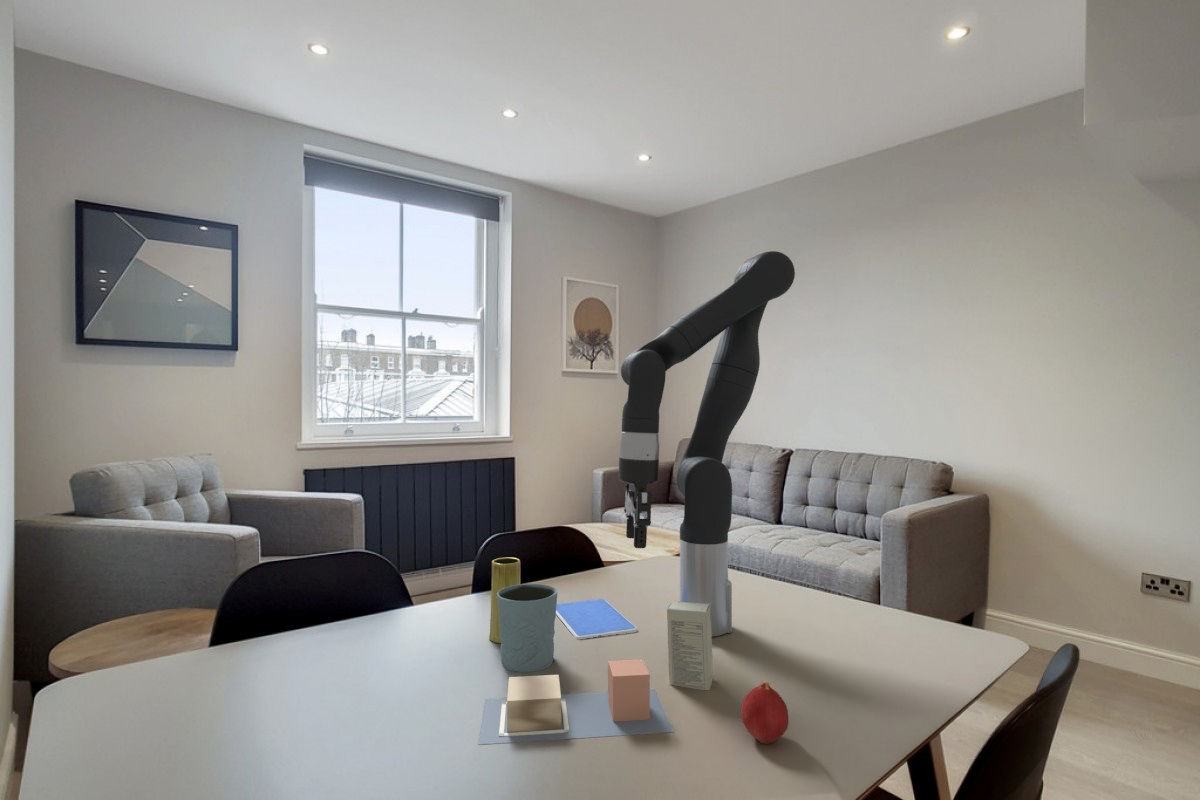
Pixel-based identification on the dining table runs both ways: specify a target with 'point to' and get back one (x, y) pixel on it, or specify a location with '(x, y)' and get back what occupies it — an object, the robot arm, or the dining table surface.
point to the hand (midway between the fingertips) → (635, 542)
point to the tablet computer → (593, 619)
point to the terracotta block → (628, 690)
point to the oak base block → (533, 703)
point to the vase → (502, 577)
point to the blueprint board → (573, 720)
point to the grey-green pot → (527, 626)
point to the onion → (764, 713)
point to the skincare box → (690, 645)
